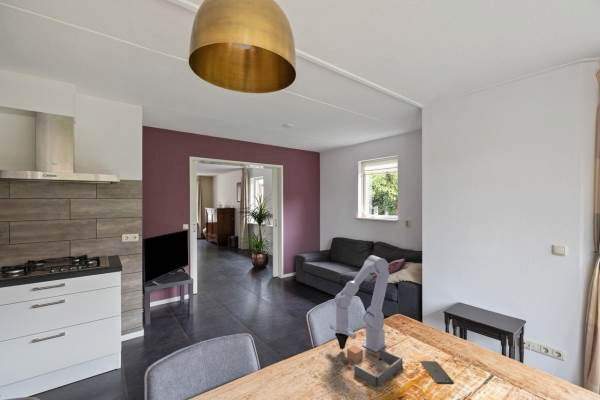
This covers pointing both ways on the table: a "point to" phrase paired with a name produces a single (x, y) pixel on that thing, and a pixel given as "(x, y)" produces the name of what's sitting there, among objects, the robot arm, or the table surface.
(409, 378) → the table surface
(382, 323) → the robot arm
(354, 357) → the terracotta block
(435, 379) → the smartphone
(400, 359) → the box
